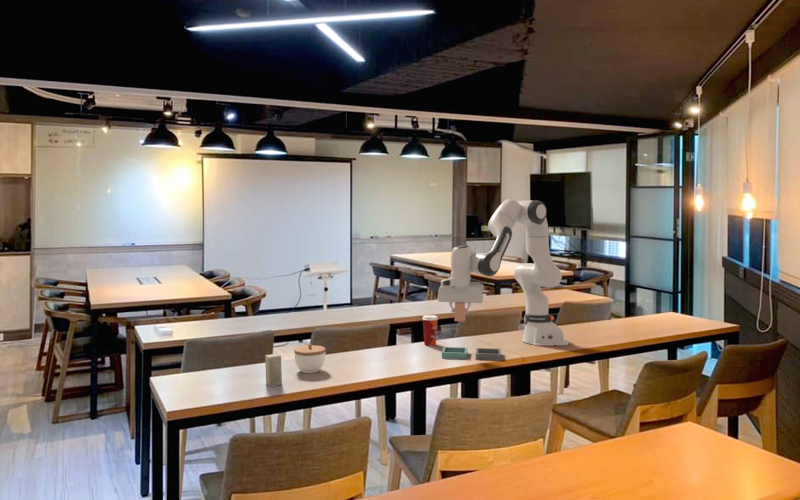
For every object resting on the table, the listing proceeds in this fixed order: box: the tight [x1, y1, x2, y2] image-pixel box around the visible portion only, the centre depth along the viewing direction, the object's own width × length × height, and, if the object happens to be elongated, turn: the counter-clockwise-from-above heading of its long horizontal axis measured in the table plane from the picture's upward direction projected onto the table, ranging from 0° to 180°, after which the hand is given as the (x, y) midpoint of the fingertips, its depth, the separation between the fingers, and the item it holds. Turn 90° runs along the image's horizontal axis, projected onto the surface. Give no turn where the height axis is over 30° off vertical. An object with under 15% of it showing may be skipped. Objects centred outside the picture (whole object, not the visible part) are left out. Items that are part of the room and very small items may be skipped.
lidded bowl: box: [293, 343, 327, 374], centre depth 235 cm, size 13×13×11 cm
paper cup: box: [422, 314, 439, 347], centre depth 282 cm, size 8×8×14 cm
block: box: [454, 302, 466, 322], centre depth 259 cm, size 4×5×8 cm
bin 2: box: [475, 347, 502, 361], centre depth 258 cm, size 11×11×2 cm
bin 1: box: [441, 346, 468, 360], centre depth 261 cm, size 11×11×2 cm
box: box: [264, 353, 283, 387], centre depth 216 cm, size 5×4×11 cm
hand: (459, 312), depth 259 cm, fingers closed on block, 4 cm apart
